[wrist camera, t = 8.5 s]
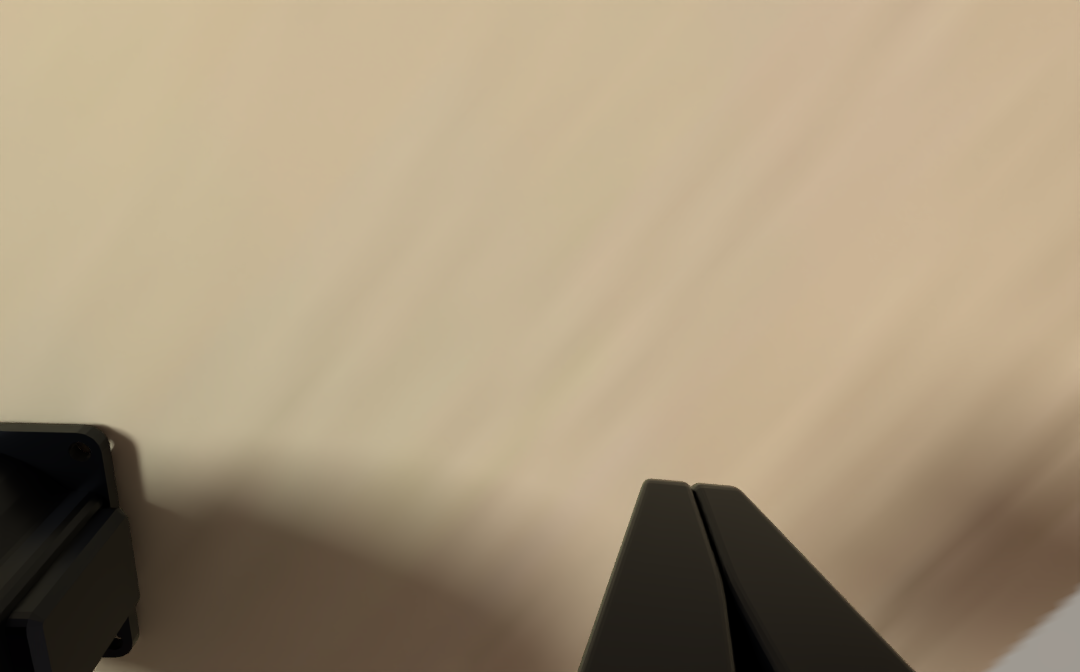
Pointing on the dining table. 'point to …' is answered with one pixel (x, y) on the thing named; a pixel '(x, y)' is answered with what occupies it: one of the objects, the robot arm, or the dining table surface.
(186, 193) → the dining table surface
